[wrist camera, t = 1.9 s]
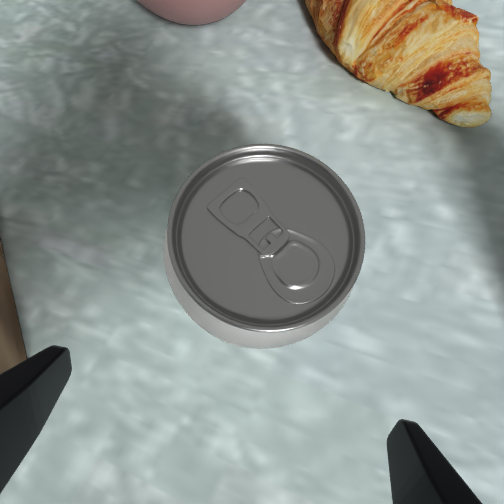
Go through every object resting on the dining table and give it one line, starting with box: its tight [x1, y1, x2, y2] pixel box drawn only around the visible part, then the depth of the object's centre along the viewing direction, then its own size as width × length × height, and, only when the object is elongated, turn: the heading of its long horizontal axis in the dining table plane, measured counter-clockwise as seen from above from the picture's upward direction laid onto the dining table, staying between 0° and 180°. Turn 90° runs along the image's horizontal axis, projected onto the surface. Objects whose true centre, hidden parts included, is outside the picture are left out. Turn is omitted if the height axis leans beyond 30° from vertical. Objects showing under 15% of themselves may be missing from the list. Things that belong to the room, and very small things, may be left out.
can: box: [164, 144, 365, 349], centre depth 15 cm, size 6×6×12 cm
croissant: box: [305, 0, 492, 127], centre depth 25 cm, size 21×10×8 cm, turn 39°
